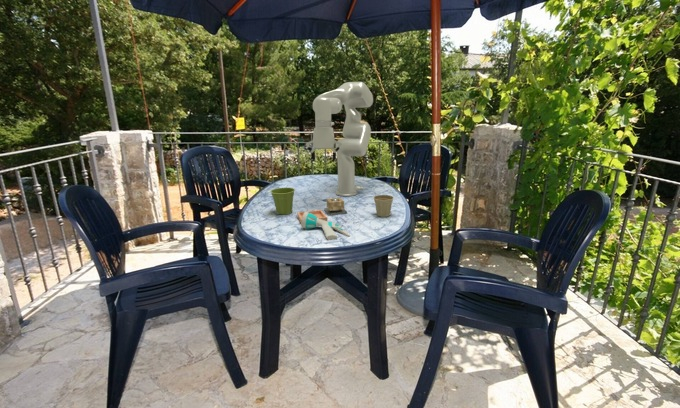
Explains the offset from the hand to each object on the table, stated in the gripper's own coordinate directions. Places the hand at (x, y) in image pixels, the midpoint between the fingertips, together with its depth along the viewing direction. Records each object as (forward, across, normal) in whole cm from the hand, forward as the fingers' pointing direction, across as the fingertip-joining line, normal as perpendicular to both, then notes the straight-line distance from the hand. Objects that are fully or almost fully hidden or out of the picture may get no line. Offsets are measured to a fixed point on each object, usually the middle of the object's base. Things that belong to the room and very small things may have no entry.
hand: (323, 160), depth 169 cm
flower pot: (+24, -29, +10) cm, 39 cm away
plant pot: (+25, +19, +7) cm, 32 cm away
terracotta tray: (+25, +4, +16) cm, 30 cm away
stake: (+24, -6, +6) cm, 25 cm away
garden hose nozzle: (+26, -3, +32) cm, 41 cm away
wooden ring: (+22, -6, +6) cm, 24 cm away
